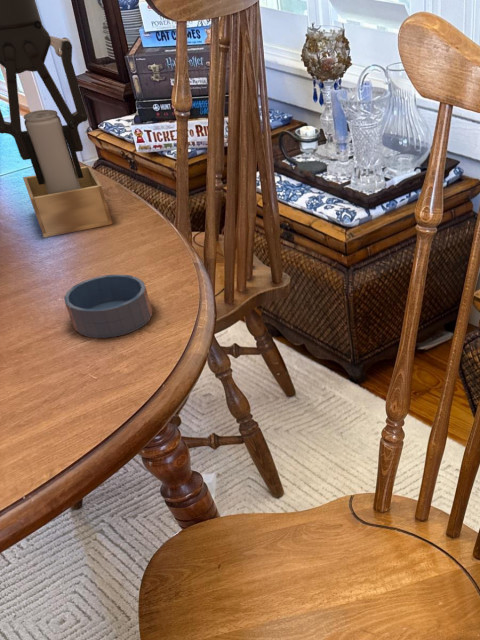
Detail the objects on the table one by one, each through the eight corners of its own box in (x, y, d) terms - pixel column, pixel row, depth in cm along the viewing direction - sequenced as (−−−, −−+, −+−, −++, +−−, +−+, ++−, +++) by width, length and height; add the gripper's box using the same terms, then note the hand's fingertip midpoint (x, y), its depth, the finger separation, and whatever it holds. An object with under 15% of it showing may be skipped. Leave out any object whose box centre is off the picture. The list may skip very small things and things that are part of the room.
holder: (43, 237, 115) (30, 198, 111) (35, 214, 121) (22, 177, 117) (112, 224, 117) (101, 185, 114) (101, 202, 124) (90, 165, 120)
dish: (77, 344, 91) (68, 317, 89) (70, 310, 98) (61, 283, 95) (158, 327, 94) (150, 300, 91) (145, 294, 100) (138, 268, 98)
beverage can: (49, 209, 116) (19, 120, 107) (54, 197, 119) (25, 110, 111) (82, 206, 116) (55, 118, 108) (86, 194, 119) (60, 108, 111)
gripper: (-78, 0, 94) (-3, 197, 110) (75, -15, 99) (125, 176, 115) (-76, -9, 99) (-5, 180, 115) (69, -24, 104) (118, 160, 120)
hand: (60, 177), depth 115 cm, fingers closed on beverage can, 5 cm apart
